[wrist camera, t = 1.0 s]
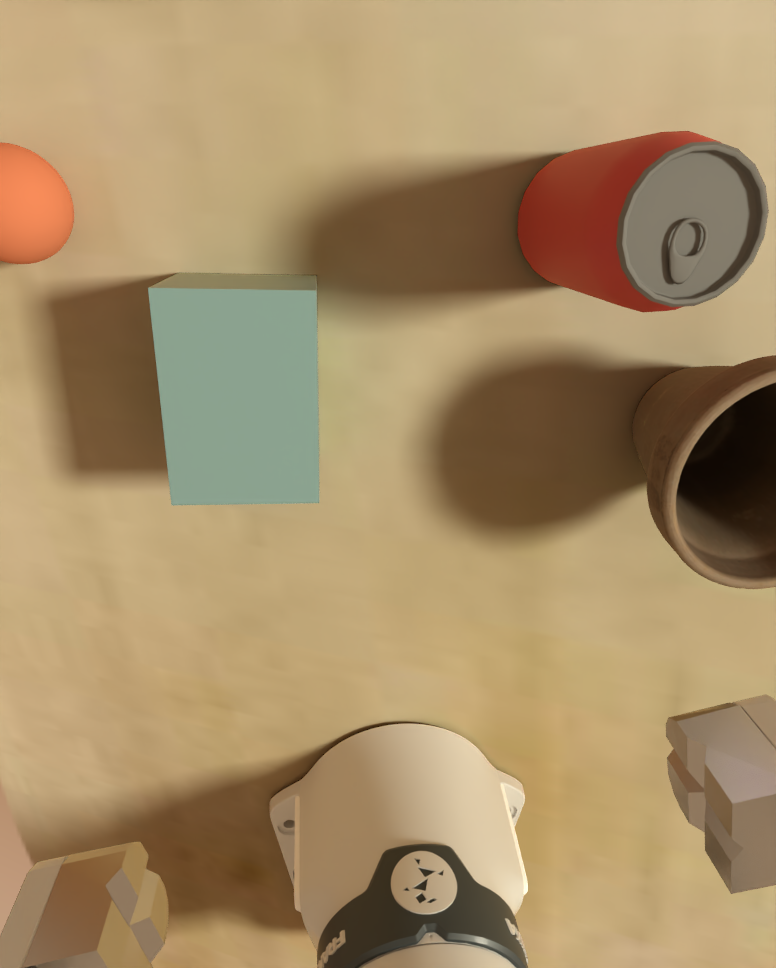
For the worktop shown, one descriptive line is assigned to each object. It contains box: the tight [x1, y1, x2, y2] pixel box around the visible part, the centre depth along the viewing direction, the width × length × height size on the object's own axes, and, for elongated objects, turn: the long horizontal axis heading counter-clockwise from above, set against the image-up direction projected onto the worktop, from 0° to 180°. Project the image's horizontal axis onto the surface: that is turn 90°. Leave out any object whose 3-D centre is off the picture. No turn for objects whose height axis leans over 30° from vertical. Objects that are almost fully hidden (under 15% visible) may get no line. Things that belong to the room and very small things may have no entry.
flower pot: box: [633, 356, 776, 589], centre depth 35 cm, size 12×11×10 cm
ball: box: [0, 143, 74, 264], centre depth 30 cm, size 5×5×5 cm
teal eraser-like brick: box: [148, 273, 319, 505], centre depth 33 cm, size 10×7×7 cm
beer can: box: [518, 131, 769, 312], centre depth 29 cm, size 7×7×12 cm
